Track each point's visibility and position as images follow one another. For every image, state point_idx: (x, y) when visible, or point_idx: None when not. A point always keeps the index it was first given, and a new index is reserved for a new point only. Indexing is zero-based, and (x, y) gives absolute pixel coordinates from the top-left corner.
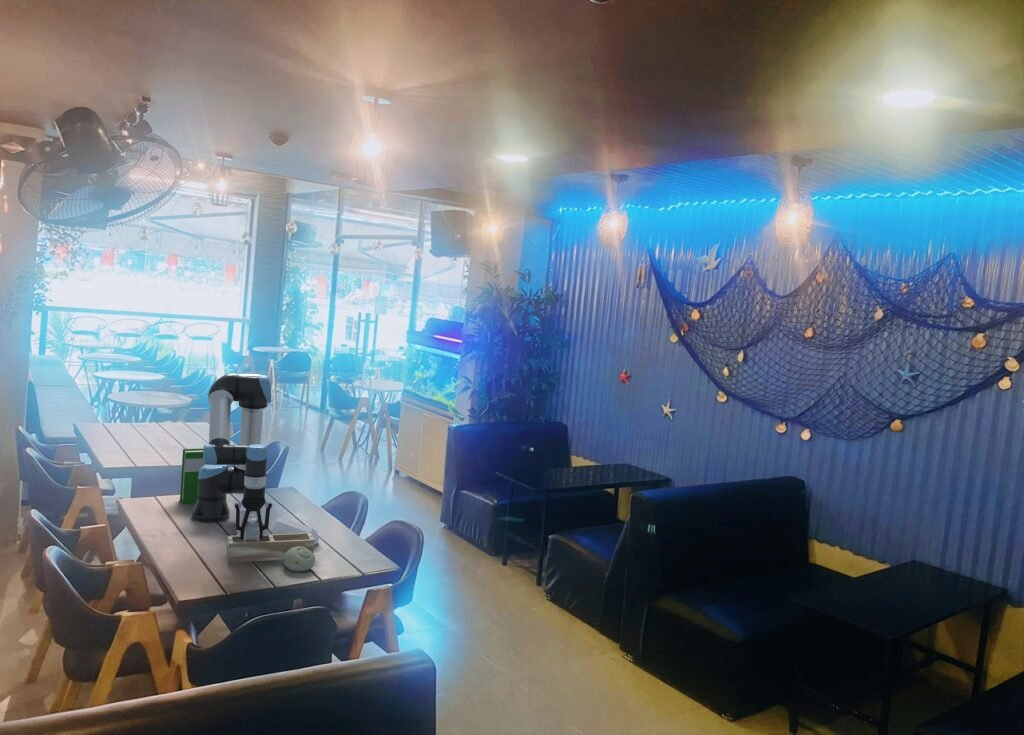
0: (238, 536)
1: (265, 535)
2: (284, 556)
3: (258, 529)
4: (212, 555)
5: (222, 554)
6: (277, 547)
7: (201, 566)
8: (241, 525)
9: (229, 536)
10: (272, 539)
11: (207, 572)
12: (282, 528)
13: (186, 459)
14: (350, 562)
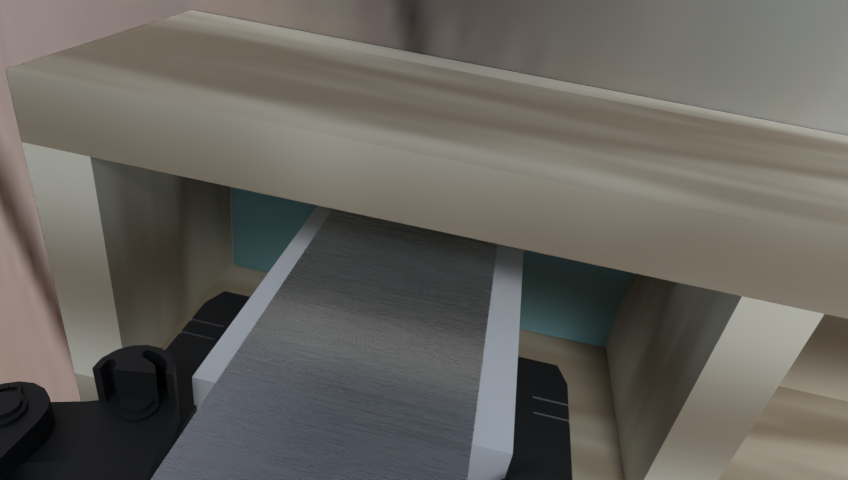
0: (193, 171)
1: (684, 282)
2: None
3: (493, 461)
4: (42, 10)
5: (147, 13)
6: None
7: (3, 267)
8: (70, 468)
9: (42, 119)
10: (692, 478)
11: (70, 385)
12: None
13: None
14: None
